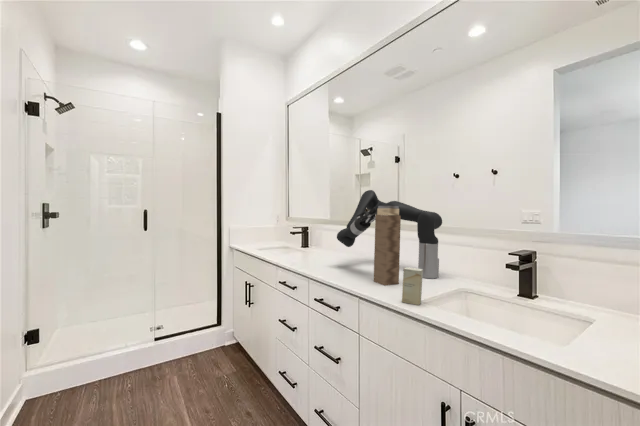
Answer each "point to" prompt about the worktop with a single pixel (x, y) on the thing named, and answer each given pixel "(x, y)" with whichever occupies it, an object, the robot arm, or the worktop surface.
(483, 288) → the worktop surface
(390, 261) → the walnut stand
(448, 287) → the worktop surface
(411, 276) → the skincare box
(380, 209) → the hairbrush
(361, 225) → the robot arm
